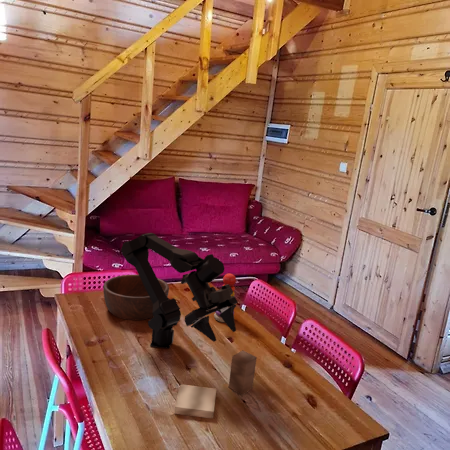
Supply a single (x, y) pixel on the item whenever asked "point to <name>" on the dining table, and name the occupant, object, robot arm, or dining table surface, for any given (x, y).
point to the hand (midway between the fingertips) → (225, 336)
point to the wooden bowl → (129, 297)
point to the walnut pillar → (242, 372)
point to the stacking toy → (231, 281)
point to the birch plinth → (195, 401)
